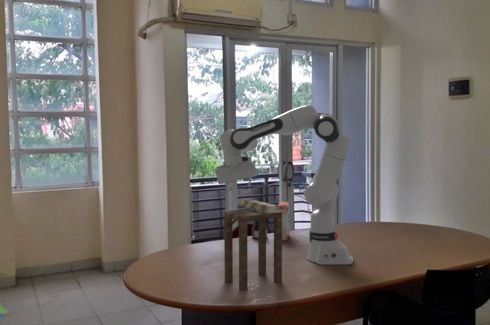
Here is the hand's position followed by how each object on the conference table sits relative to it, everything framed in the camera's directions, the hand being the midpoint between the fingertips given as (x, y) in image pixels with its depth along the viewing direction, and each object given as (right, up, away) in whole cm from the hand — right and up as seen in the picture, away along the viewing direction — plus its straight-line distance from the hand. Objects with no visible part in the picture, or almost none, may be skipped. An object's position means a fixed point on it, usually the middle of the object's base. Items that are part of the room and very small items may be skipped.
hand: (240, 188), depth 225 cm
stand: (+6, -38, -30) cm, 49 cm away
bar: (+8, -7, -27) cm, 29 cm away
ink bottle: (+11, -32, +47) cm, 58 cm away
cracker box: (+25, -32, +46) cm, 62 cm away
